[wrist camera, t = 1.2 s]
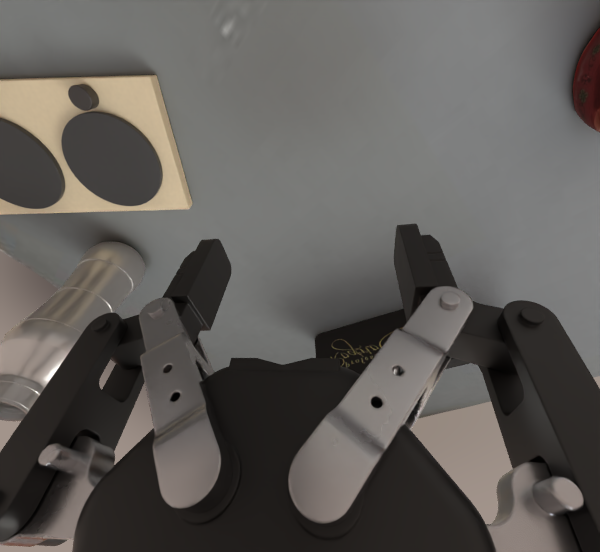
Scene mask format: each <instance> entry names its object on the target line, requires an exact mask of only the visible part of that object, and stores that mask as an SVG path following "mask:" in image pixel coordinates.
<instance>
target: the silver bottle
mask: <svg viewBox="0 0 600 552" xmlns="http://www.w3.org/2000/svg"><path fill="white" fill-rule="evenodd" d="M144 273H145V264H144V261H143V259H142V257H141V255H140V254H139V253H138V252H137V251H136V250H135V249H133V248H132V247H130V246H128V245H126V244H124V243H120V242H114V241H113V242H101V243H98V244H96V245H95V246H93V247H92V248H90V249H89V250H87V251H86V252H85V254H84V255H83V257H82V258H81V260H80V262H79V264H78V266H77V268H76V269H75V271H74V272H73V273H72V275H71V276H70V277H69V279H68V280H67V281H66V282H65V284H64V285H63V286H62V287H61V288H60V289H59V290H58V291H57V292H56V293H55V294H54V295H53V296H52V297H51V298H50V299H48V301H46V302H45V303H44V304H43V305H42V306H40V307H39V308H38V309H37V310H35V311H34V312H33V313H31V314H30V315H29V316H27V317H26V318H25V319H23V320H22V321H21V322H20V323H18V324H17V325H16V326H14V327H13V328H12V329H11V330H10V331H9V332H8V333H7V334H5V337H4V339H3V341H2V343H1V345H0V420H5V421H22V420H23V418H24V417H25V416H26V414H27V413H28V411H29V410H30V408H31V407H32V405H33V404H34V403H35V401H36V400H37V398H38V397H39V395H40V394H41V392H42V391H43V389H44V388H45V387H46V385H47V384H48V382H49V381H50V379H51V378H52V376H53V375H54V373H55V372H56V371H57V369H58V368H59V366H60V365H61V363H62V362H63V360H64V359H65V358H66V356H67V355H68V353H69V352H70V350H71V349H72V347H73V346H74V344H75V343H76V342H77V340H78V339H79V337H80V336H81V334H82V333H83V331H84V330H85V328H86V327H87V326H88V325H89V324H90V323H91V322H92V321H93V320H94V319H96V318H97V317H99V316H101V315H103V314H106V313H114V312H115V310H116V309H117V308H118V307H119V306H120V304H121V303H122V302H123V301H124V299H125V298H126V297H127V296H128V295H129V294H130V293H131V292H132V291H133V290H135V288H136V287H137V286H138V285H139V284H140V283H141V281H142V279H143V276H144Z"/></svg>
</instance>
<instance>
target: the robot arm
mask: <svg viewBox="0 0 600 552" xmlns="http://www.w3.org/2000/svg"><path fill="white" fill-rule="evenodd" d="M394 265H395V270H396V275H397V280H398V284H399V289H400V293H401V298H402V302H403V307H404V312H405V316H406V321H407V323H406V324H405V326H404V327H403V328H402V329H400V328H397V329H396V330H395V331H394V332H393V333H392V334H391V336H390V337H389V338H388V340H387V341H386V342H385V344H384V345H383V346H382V347H381V349H380V350H379V351H378V353H377V354H376V355H375V357H374V358H373V359H372V361H371V362H370V363H369V365H368V366H367V367H366V369H365V370H364V371H363V373H362V374H361V375H360V374H358V373H356V372H354V371H353V370H350V369H348V368H345V367H341V366H340V360H339V358H310V359H306V360H302V361H298V362H294V363H289V364H285V365H280V364H276V363H273V362H269V361H265V360H262V359H258V358H231V362H230V365H229V367H226V368H223V369H221V370H219V371H217V372H214V370H213V368H212V366H211V363H210V361H209V359H208V356H207V354H206V352H205V349H204V347H203V344H202V342H201V340H200V338H199V337H198V335H199V332H200V331H205V330H211V327H212V324H213V322H214V319H215V316H216V314H217V311H218V308H219V306H220V303H221V300H222V298H223V295H224V292H225V290H226V287H227V284H228V282H229V279H230V276H231V264H230V261H229V259H228V257H227V255H226V252H225V250H224V248H223V246H222V244H221V242H220V240H219V239H210V240H202V241H201V242H200V243H199V245H198V247H197V249H196V250H195V251H193V252H191V253H190V254H189V255H188V256H187V257H186V258H185V259H184V261H183V263H182V264H181V266H180V269H179V270H178V271H177V273H176V275H175V277H174V278H173V280H172V282H171V284H170V285H169V287H168V289H167V290H166V292H165V294H164V296H163V297H162V298H159V299H156V300H153V301H152V302H150V303H148V304H147V305H146V306H145V307H144V308H143V309H142V311H141V312H140V315H136V316H133V317H130V318H126V319H122V318H121V317H120V316H119V315H118V314H116V313H106V314H103V315H101V316H99V317H97V318H96V319H94V320H93V321H92V322H91V323H90V324H89V325H88V326H87V327H86V328H85V330H84V331H83V333H82V334H81V336H80V337H79V339H78V340H77V342H76V343H75V344H74V346H73V347H72V349H71V350H70V352H69V353H68V355H67V356H66V358H65V359H64V360H63V362H62V363H61V365H60V366H59V368H58V369H57V371H56V372H55V373H54V375H53V376H52V378H51V379H50V381H49V382H48V384H47V385H46V387H45V388H44V389H43V391H42V392H41V394H40V395H39V397H38V398H37V400H36V401H35V403H34V404H33V405H32V407H31V408H30V410H29V411H28V413H27V414H26V416H25V417H24V418H23V420H22V421H21V423H20V424H19V426H18V427H17V429H16V430H15V432H14V433H13V435H12V436H11V438H10V439H9V440H8V442H7V443H6V445H5V446H4V448H3V449H2V451H1V452H0V545H7V546H28V547H30V546H35V545H44V546H57V545H60V544H62V543H64V542H65V541H67V540H74V542H73V551H72V552H600V389H599V387H598V385H597V384H596V382H595V380H594V379H593V377H592V375H591V374H590V372H589V370H588V369H587V367H586V365H585V364H584V362H583V360H582V359H581V357H580V355H579V354H578V352H577V350H576V349H575V347H574V345H573V344H572V342H571V340H570V339H569V337H568V335H567V334H566V332H565V330H564V329H563V327H562V325H561V324H560V322H559V320H558V319H557V317H556V316H555V315H554V314H553V313H552V312H551V311H550V310H549V309H547V308H545V307H544V306H542V305H539V304H537V303H534V302H530V301H522V300H521V301H513V302H510V303H509V304H507V305H506V306H505V308H504V309H502V308H497V307H492V306H487V305H483V304H479V303H476V302H474V301H472V299H471V298H470V297H469V295H468V294H466V293H465V292H464V291H462V290H460V289H458V287H457V285H456V282H455V280H454V278H453V275H452V273H451V270H450V268H449V266H448V263H447V261H446V258H445V256H444V254H443V251H442V249H441V246H440V244H439V242H438V241H437V240H435V239H434V238H433V237H432V236H431V235H420V232H419V229H418V226H417V224H406V225H397V228H396V238H395V249H394ZM451 358H455V359H458V360H462V361H466V362H469V363H473V364H476V365H480V367H481V370H482V373H483V377H484V380H485V383H486V386H487V389H488V392H489V395H490V399H491V402H492V405H493V408H494V411H495V414H496V417H497V420H498V423H499V427H500V430H501V433H502V436H503V439H504V442H505V446H506V448H507V452H508V455H509V458H510V461H511V465H512V467H513V470H511V471H509V472H508V473H506V474H505V475H503V476H502V477H501V479H500V480H499V482H498V485H497V498H498V513H497V516H496V518H495V520H494V521H493V523H492V524H490V525H488V524H485V522H484V520H483V519H482V517H481V515H480V514H479V512H478V511H477V509H476V508H475V506H474V505H473V504H472V502H471V501H470V500H469V499H468V498H467V497H466V495H465V494H464V493H463V492H462V490H461V489H460V488H459V487H458V486H457V485H456V483H455V482H454V481H453V480H452V479H451V478H450V476H449V475H448V474H447V473H446V472H445V470H444V469H443V468H442V467H441V466H440V464H439V463H438V462H437V461H436V460H435V459H434V458H433V456H432V455H431V454H430V453H429V451H428V450H427V449H426V448H425V447H424V446H423V444H422V443H421V442H420V441H419V440H418V438H417V437H416V436H415V435H414V434H413V432H412V431H411V429H412V427H413V425H414V424H415V422H416V420H417V419H418V417H419V415H420V413H421V412H422V410H423V408H424V406H425V404H426V402H427V400H428V398H429V396H430V394H431V392H432V391H433V389H434V387H435V385H436V384H437V382H438V380H439V378H440V377H441V375H442V373H443V372H444V370H445V368H446V366H447V365H448V363H449V361H450V359H451ZM110 359H111V360H112V361H114V362H115V363H116V365H115V367H114V369H113V370H112V372H111V374H110V376H109V378H108V380H107V381H106V384H105V385H104V387H103V389H102V390H101V389H100V387H99V379H100V377H101V375H102V373H103V371H104V369H105V367H106V366H107V364H108V362H109V361H110ZM144 382H145V386H146V391H147V396H148V401H149V406H150V411H151V416H152V421H153V426H154V428H153V429H152V430H151V431H150V432H149V433H148V434H147V435H146V436H145V437H144V438H143V439H142V440H141V441H140V442H139V443H138V444H136V445H135V446H134V447H133V448H132V449H131V450H130V451H129V452H128V453H127V454H126V455H125V456H124V457H123V458H122V459H121V460H120V461H119V462H118V463H117V464H116V465H114V461H115V454H114V450H115V448H116V446H117V443H118V441H119V439H120V437H121V434H122V432H123V430H124V428H125V425H126V423H127V420H128V418H129V416H130V414H131V412H132V409H133V407H134V405H135V402H136V400H137V398H138V396H139V393H140V391H141V389H142V386H143V384H144Z"/></svg>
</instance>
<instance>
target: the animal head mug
mask: <svg viewBox="0 0 600 552" xmlns="http://www.w3.org/2000/svg"><path fill="white" fill-rule="evenodd" d="M573 99H574V106H575V110H576V112H577V114H578V115H579V117H580V118H581V119H582V120H583V121H584V122H585V123H586V124H587V125H588V126H590V127H591V128H593V129H595V130H596V131H598V132H600V27H599V29H598V30H597V32H596V33H595V34H594V36H593V37H592V39H591V40H590V42H589V43H588V45H587V46H586V48H585V49H584V51H583V53H582V55H581V57H580V60H579V62H578V65H577V68H576V72H575V77H574V83H573Z"/></svg>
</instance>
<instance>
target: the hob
mask: <svg viewBox="0 0 600 552" xmlns="http://www.w3.org/2000/svg"><path fill="white" fill-rule="evenodd" d="M191 205H192V200H191V196H190V193H189V189H188V186H187V182H186V178H185V175H184V171H183V168H182V164H181V161H180V157H179V154H178V150H177V146H176V143H175V139H174V136H173V132H172V129H171V125H170V122H169V118H168V115H167V111H166V107H165V104H164V100H163V97H162V93H161V90H160V86H159V83H158V79H157V76H156V75H134V76H99V77H65V78H30V79H0V215H1V214H36V213H71V212H106V211H141V210H176V209H189V208H190V207H191Z"/></svg>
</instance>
